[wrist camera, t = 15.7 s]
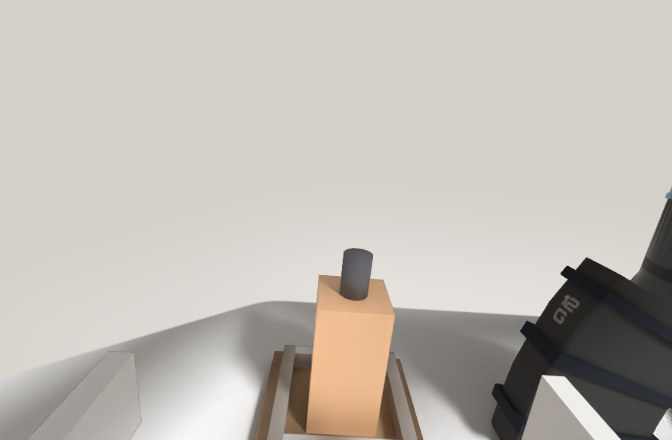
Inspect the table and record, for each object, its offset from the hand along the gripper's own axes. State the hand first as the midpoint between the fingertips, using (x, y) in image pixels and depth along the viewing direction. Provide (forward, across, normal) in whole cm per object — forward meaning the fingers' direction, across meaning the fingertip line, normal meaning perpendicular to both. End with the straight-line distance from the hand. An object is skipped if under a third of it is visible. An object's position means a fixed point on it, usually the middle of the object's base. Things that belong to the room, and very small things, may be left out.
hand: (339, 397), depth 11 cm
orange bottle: (+12, +2, -13) cm, 18 cm away
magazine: (+11, +20, -15) cm, 28 cm away
